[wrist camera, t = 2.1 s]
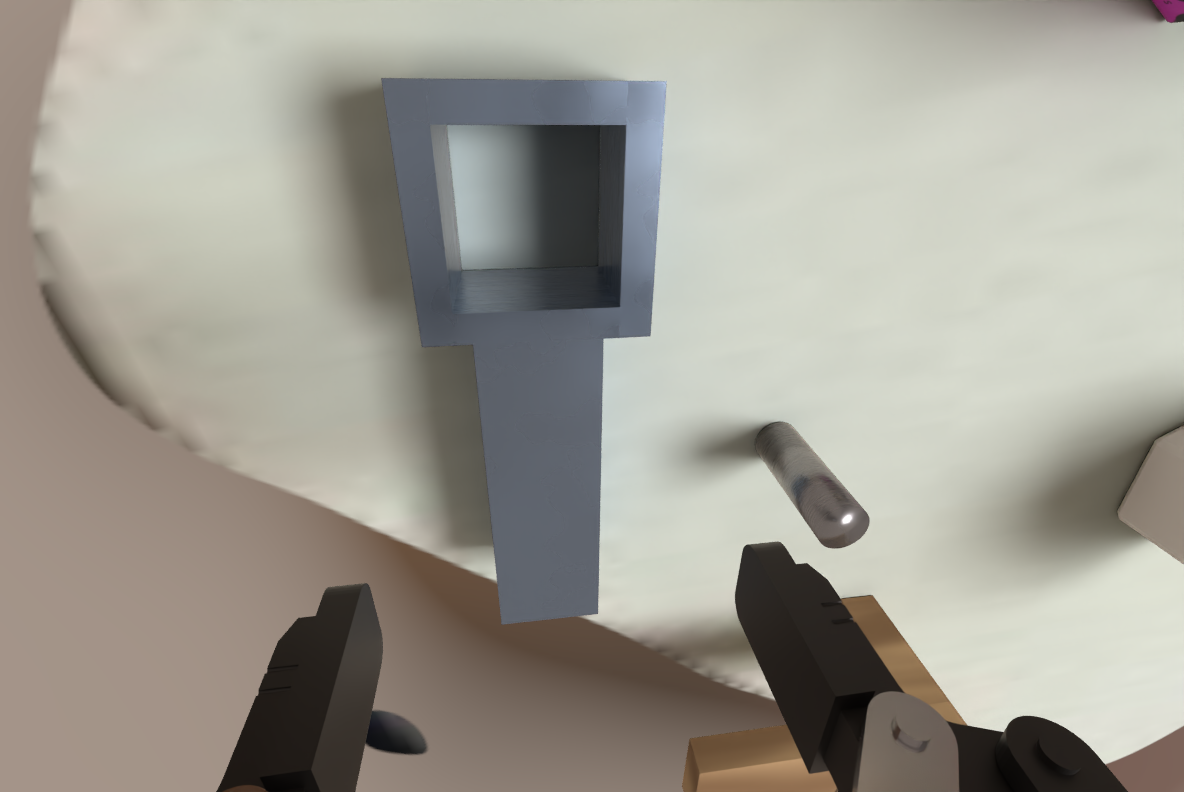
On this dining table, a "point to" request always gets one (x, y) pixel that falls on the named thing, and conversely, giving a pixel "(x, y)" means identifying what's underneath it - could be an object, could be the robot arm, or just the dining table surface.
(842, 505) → the cylinder
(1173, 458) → the soap bottle
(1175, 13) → the candy bar box
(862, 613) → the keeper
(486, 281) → the link
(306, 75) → the dining table surface
